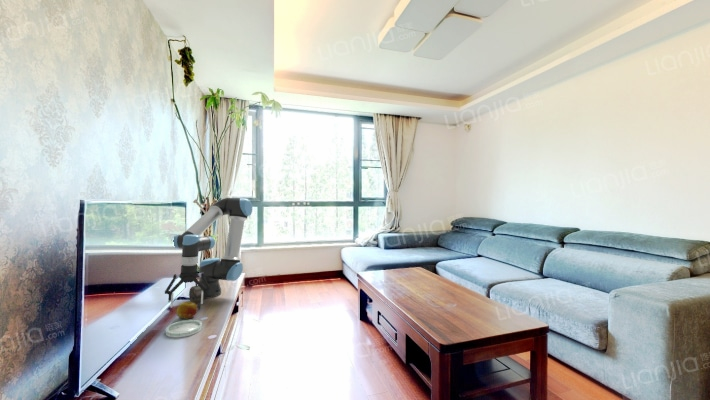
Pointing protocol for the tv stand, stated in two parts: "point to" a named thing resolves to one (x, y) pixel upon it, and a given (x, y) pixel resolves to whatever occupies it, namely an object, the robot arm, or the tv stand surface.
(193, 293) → the alarm clock
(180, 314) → the fruit
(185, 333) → the dish
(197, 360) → the tv stand surface
